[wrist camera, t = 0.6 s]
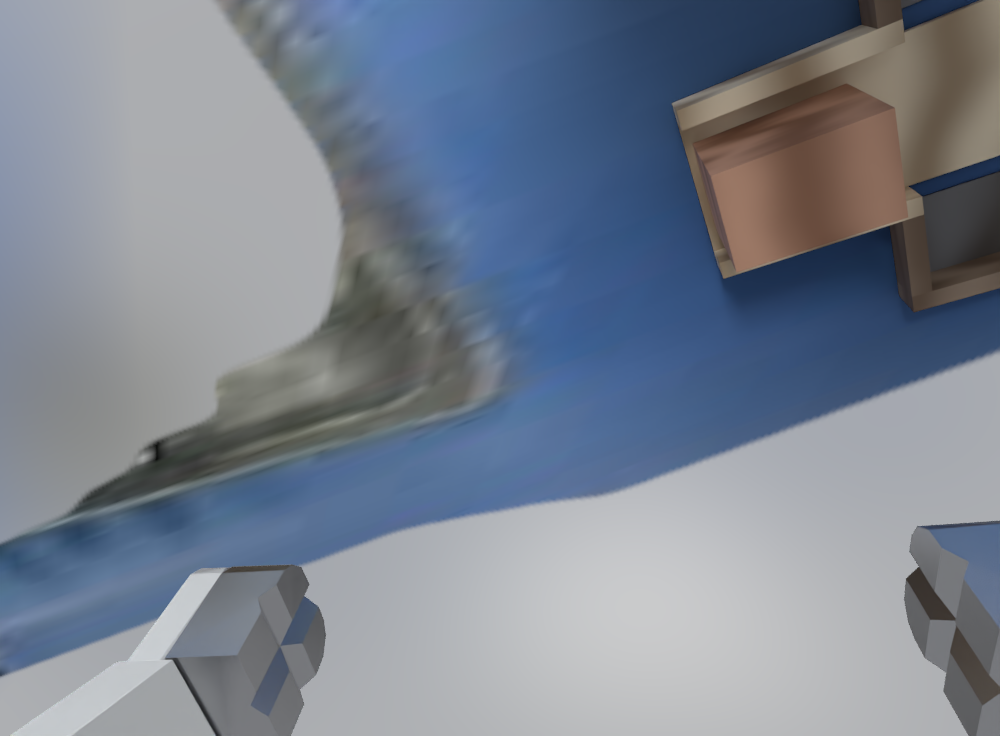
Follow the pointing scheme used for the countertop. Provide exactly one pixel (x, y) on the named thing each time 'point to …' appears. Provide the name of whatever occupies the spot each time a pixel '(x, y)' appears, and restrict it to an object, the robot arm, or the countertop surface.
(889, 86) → the wooden cross frame
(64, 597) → the countertop surface
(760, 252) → the mahogany brick
